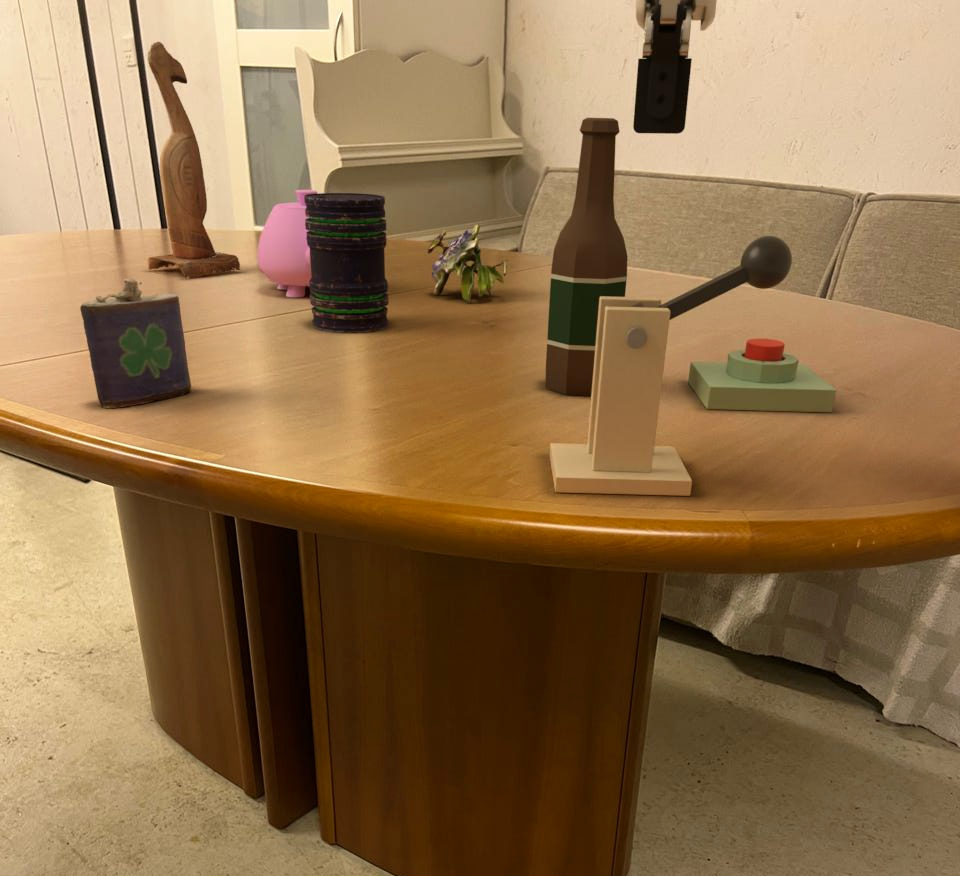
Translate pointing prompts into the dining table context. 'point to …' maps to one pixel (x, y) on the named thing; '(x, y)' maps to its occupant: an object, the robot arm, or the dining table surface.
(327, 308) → the storage jar
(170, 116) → the bird sculpture
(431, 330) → the dining table surface
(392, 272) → the dining table surface
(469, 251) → the passion flower
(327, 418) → the dining table surface
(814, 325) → the dining table surface
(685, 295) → the lever
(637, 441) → the bracket
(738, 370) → the button box
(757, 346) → the button
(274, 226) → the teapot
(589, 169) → the beer bottle
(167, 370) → the flask
